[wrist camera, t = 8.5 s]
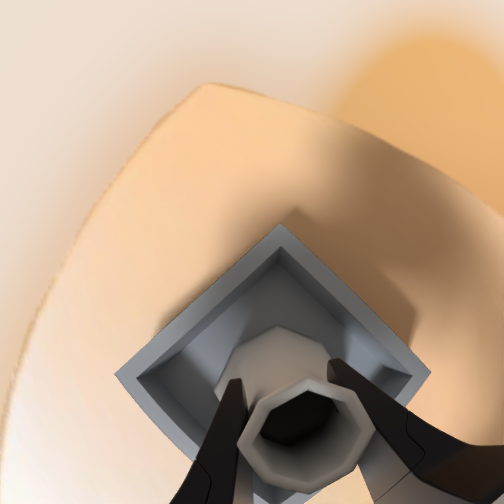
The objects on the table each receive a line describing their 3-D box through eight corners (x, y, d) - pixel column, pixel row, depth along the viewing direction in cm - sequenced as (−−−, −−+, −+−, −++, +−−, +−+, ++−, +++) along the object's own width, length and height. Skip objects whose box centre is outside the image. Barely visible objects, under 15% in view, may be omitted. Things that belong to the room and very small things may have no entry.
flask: (282, 463, 13) (304, 567, 3) (192, 389, 15) (106, 430, 5) (363, 377, 15) (473, 394, 5) (275, 303, 16) (296, 235, 7)
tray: (270, 494, 13) (273, 523, 10) (141, 370, 17) (114, 373, 13) (401, 370, 16) (431, 371, 13) (276, 247, 20) (280, 222, 16)
